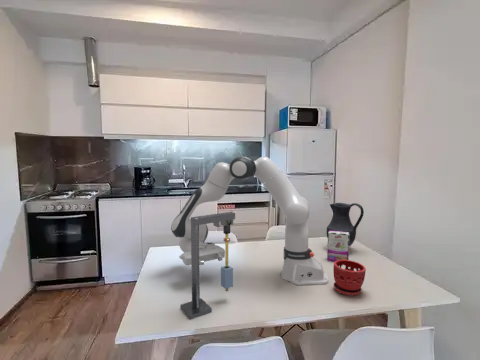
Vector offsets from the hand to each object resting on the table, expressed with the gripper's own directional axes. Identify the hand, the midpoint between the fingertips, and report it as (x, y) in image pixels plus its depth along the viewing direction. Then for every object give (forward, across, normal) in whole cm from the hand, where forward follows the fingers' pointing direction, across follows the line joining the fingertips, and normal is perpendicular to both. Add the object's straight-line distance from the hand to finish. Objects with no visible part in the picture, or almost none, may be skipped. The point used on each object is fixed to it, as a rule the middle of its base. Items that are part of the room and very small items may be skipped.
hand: (211, 261), depth 131 cm
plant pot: (+35, +49, +12) cm, 62 cm away
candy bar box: (+10, +74, +12) cm, 76 cm away
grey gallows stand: (+13, -7, +12) cm, 19 cm away
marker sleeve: (+12, 0, +6) cm, 14 cm away
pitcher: (+2, +90, +12) cm, 91 cm away
